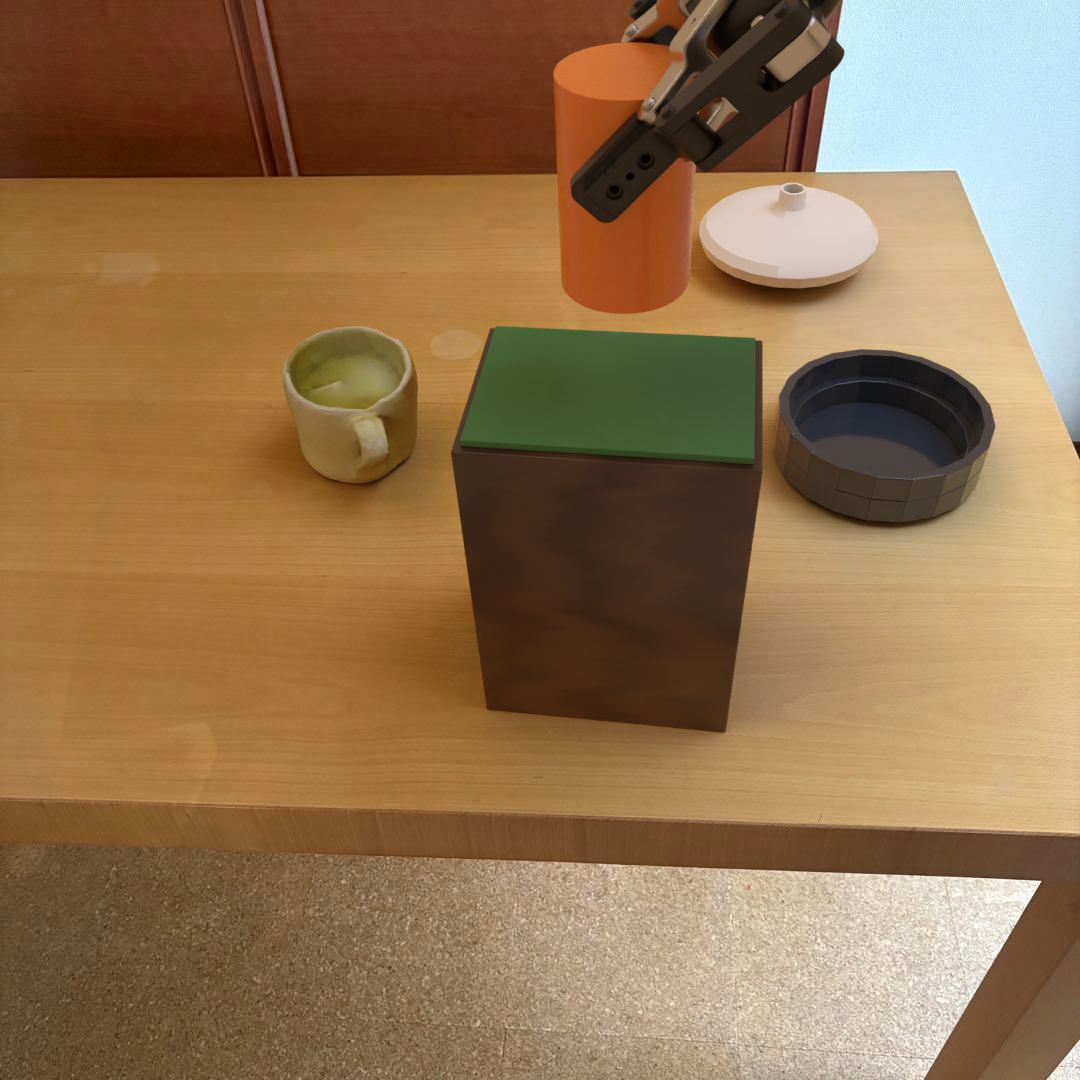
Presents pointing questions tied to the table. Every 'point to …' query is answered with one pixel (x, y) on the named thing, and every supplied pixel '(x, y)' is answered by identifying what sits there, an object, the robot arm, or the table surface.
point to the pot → (882, 435)
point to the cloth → (616, 395)
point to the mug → (353, 402)
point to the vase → (788, 236)
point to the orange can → (651, 220)
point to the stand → (608, 578)
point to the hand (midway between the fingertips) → (583, 168)
